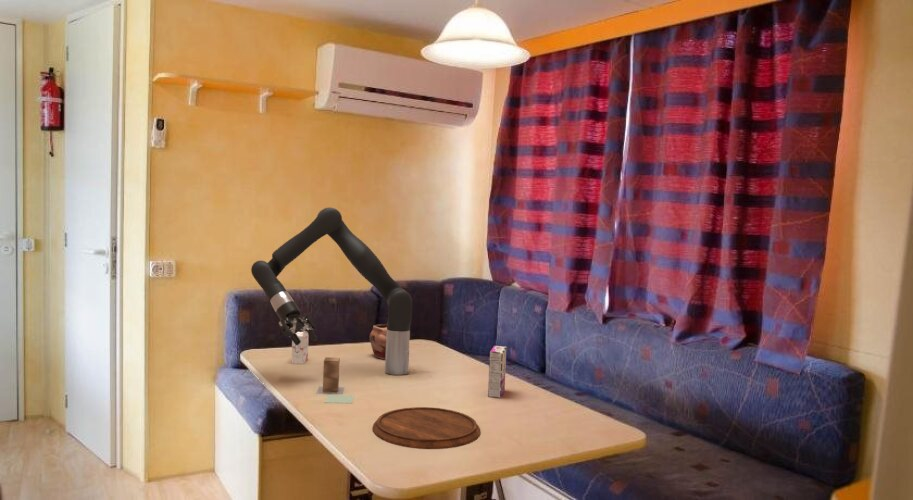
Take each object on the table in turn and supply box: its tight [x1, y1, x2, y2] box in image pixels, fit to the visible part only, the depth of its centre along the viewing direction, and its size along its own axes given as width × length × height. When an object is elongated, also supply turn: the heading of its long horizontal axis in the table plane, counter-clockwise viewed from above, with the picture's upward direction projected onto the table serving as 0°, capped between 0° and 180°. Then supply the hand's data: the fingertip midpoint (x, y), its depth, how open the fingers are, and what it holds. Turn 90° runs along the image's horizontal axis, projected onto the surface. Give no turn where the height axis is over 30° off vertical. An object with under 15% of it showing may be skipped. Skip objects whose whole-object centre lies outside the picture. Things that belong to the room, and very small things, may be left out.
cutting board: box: [372, 406, 481, 450], centre depth 193 cm, size 32×32×2 cm
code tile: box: [316, 385, 345, 395], centre depth 228 cm, size 9×9×1 cm
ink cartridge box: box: [291, 328, 310, 365], centre depth 269 cm, size 9×5×15 cm, turn 179°
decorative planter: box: [369, 324, 387, 360], centre depth 286 cm, size 20×12×14 cm, turn 36°
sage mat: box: [324, 394, 355, 404], centre depth 218 cm, size 9×9×1 cm
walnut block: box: [322, 356, 341, 392], centre depth 227 cm, size 5×5×11 cm
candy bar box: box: [487, 345, 507, 399], centre depth 235 cm, size 11×5×16 cm, turn 168°
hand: (307, 342), depth 233 cm, fingers open, 8 cm apart
